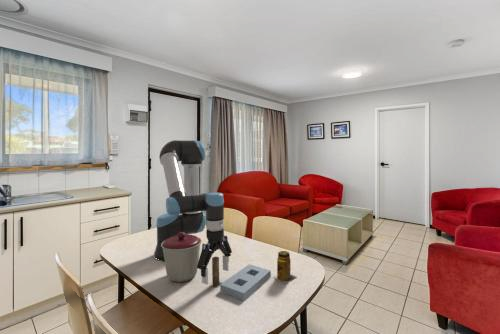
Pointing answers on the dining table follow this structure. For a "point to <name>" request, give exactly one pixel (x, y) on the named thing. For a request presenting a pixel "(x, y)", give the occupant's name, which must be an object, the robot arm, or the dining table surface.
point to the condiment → (284, 267)
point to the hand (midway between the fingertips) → (215, 276)
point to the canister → (181, 256)
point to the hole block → (245, 281)
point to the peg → (215, 271)
